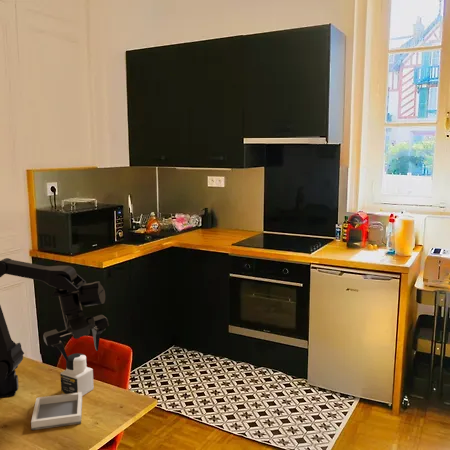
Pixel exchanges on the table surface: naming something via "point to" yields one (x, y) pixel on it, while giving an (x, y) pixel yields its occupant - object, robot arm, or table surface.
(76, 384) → the medicine bottle
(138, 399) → the table surface
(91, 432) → the table surface
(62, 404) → the walled box
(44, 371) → the table surface
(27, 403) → the table surface
